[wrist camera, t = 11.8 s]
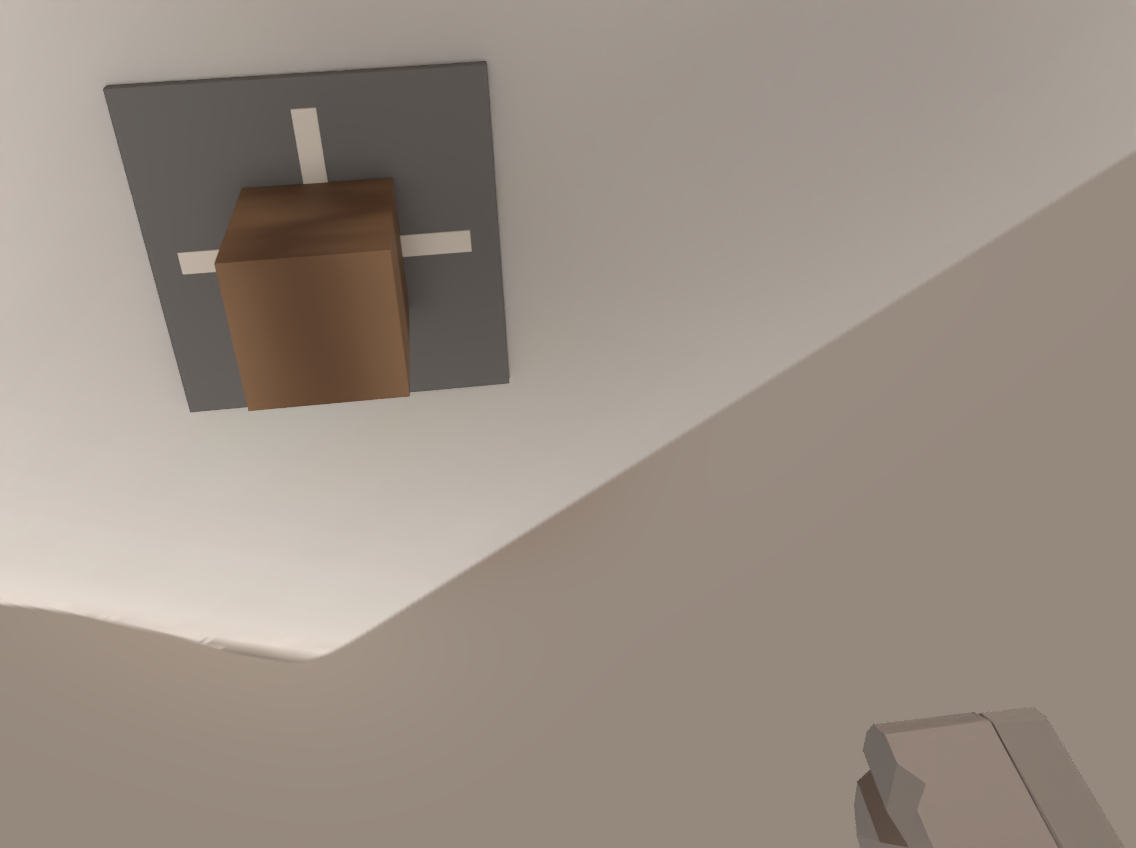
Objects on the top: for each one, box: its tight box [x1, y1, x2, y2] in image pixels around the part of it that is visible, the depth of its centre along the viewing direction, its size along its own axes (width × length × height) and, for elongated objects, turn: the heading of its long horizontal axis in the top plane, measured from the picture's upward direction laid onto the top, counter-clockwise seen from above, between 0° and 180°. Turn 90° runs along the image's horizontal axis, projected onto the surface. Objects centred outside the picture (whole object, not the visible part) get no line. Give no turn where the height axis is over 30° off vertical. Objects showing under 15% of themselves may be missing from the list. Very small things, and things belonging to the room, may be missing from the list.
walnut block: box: [214, 178, 410, 411], centre depth 34 cm, size 5×5×6 cm
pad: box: [103, 62, 509, 412], centre depth 37 cm, size 12×12×1 cm
